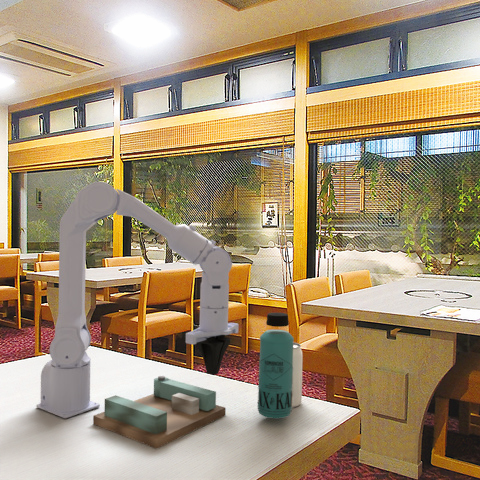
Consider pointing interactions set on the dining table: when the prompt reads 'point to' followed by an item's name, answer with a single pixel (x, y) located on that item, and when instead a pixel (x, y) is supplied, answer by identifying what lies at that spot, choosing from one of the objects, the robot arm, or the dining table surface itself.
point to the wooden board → (155, 418)
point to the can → (297, 375)
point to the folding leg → (184, 392)
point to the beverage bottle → (275, 369)
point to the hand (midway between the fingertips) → (212, 373)
